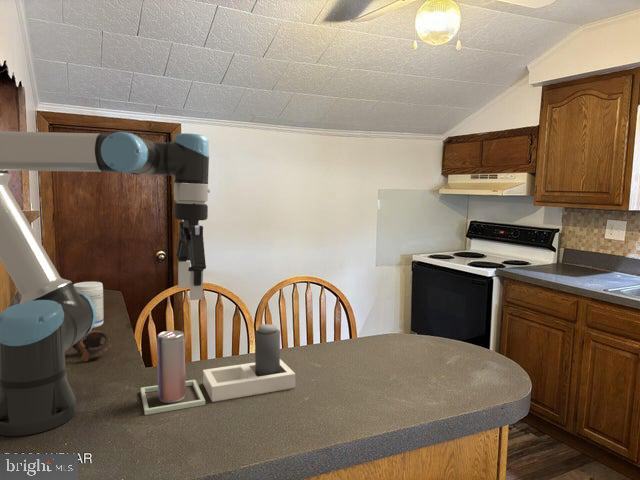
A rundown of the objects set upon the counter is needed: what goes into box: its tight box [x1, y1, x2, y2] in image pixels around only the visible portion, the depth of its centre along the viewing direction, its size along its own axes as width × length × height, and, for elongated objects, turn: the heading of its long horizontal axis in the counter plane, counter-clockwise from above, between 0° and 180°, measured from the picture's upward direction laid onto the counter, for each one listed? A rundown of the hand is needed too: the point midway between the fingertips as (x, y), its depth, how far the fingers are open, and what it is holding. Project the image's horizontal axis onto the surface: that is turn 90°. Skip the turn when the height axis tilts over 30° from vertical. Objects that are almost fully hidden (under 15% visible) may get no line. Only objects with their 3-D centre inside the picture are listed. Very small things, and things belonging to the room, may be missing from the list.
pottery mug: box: [71, 330, 112, 363], centre depth 134 cm, size 12×10×8 cm
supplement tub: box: [73, 281, 105, 329], centre depth 163 cm, size 10×10×15 cm
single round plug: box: [254, 323, 281, 377], centre depth 116 cm, size 6×6×14 cm
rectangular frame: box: [140, 379, 206, 416], centre depth 108 cm, size 13×13×1 cm
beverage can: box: [156, 330, 187, 404], centre depth 107 cm, size 6×6×15 cm
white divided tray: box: [202, 358, 296, 403], centre depth 115 cm, size 20×11×4 cm, turn 114°
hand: (189, 293), depth 111 cm, fingers open, 13 cm apart
